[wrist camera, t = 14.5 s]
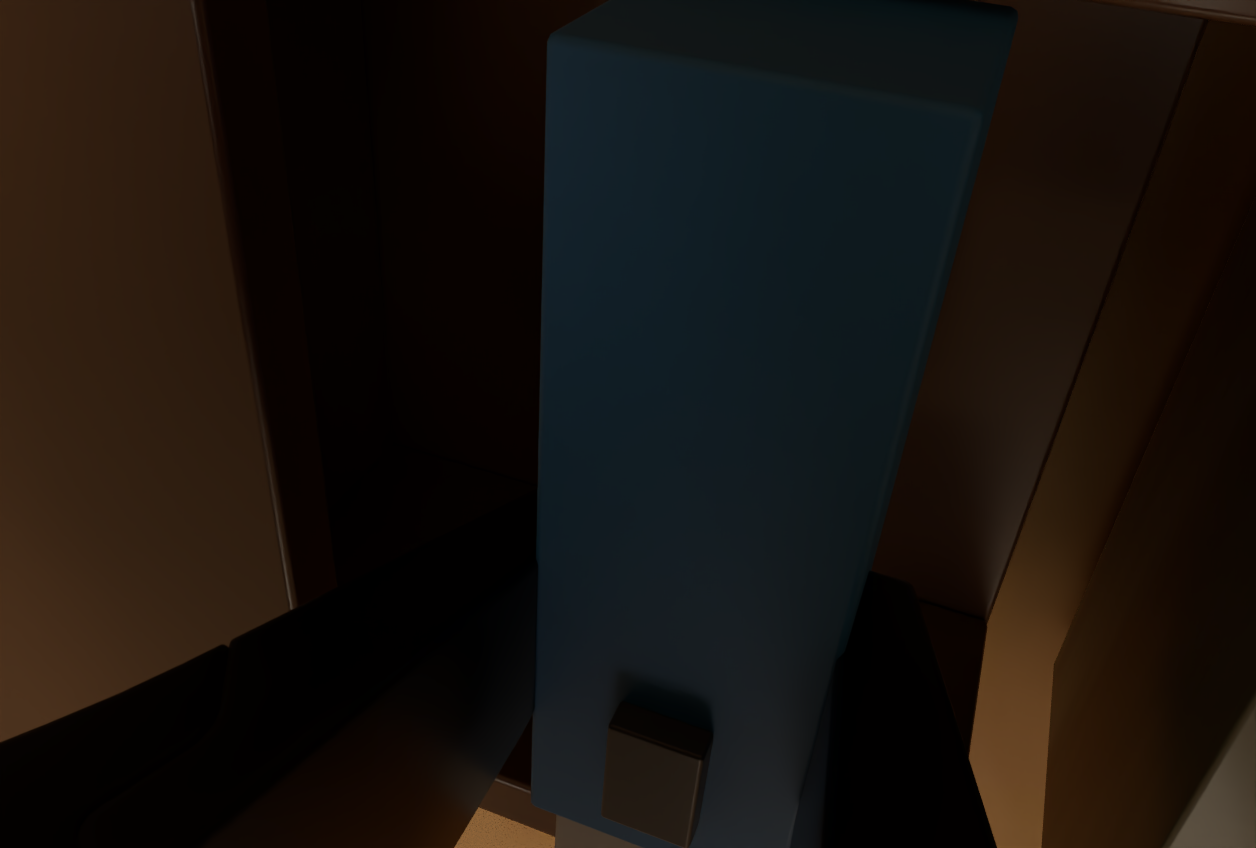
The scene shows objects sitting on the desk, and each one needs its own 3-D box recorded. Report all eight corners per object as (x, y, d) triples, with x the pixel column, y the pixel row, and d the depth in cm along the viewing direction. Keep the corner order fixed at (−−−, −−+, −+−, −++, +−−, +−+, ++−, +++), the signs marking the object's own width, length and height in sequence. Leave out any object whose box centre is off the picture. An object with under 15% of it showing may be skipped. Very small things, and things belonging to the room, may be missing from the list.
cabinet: (646, -393, 13) (119, -508, 6) (590, 514, 21) (340, 898, 14) (-247, -452, 16) (-1185, -562, 10) (0, 336, 24) (-421, 572, 18)
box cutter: (681, -46, 8) (518, 45, 6) (1021, 6, 7) (980, 129, 5) (609, 775, 13) (512, 976, 11) (797, 845, 13) (732, 1072, 11)
